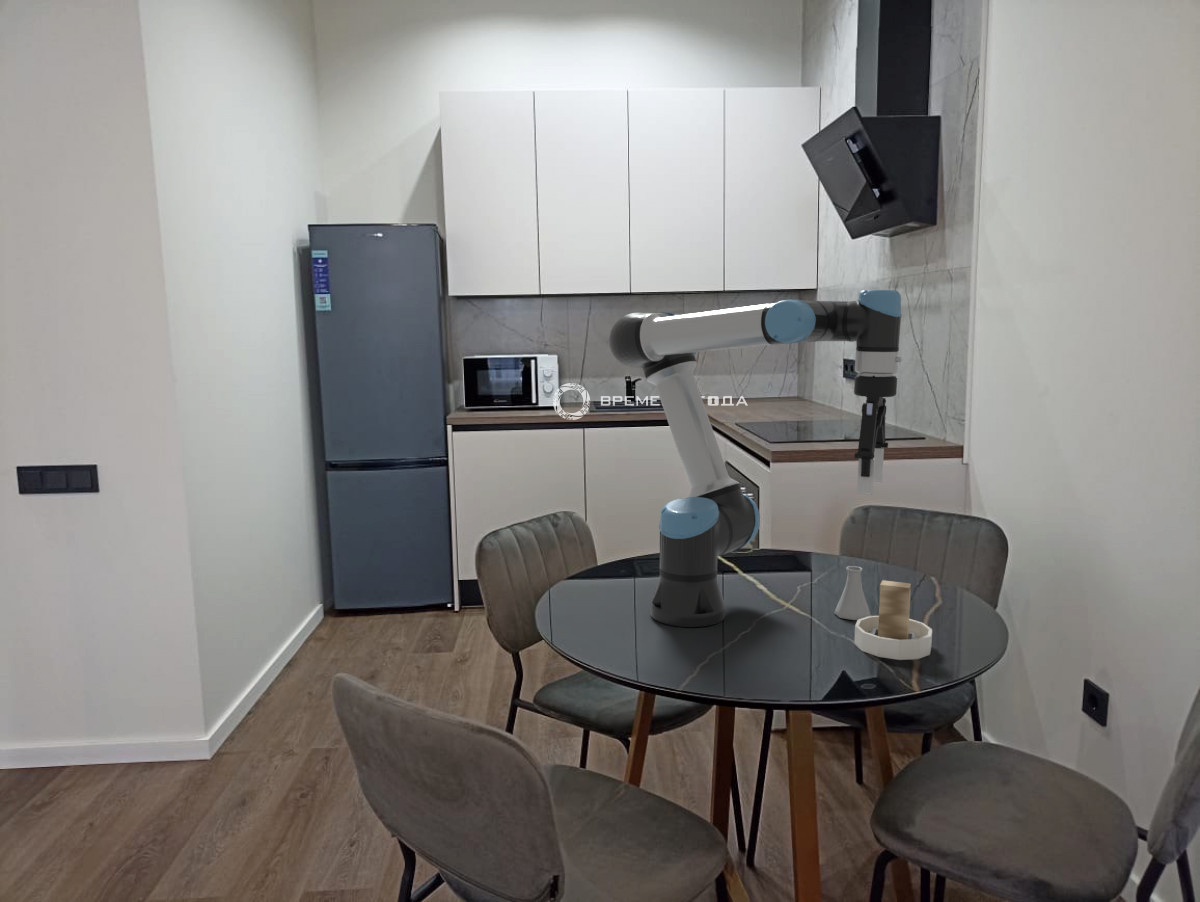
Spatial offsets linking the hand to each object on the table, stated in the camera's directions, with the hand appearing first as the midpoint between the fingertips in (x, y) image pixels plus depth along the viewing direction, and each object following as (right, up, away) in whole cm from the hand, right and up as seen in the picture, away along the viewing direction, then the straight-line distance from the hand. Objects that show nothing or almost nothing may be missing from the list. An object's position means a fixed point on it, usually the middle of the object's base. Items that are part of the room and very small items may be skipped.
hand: (869, 487), depth 164 cm
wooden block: (+3, -28, -4) cm, 29 cm away
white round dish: (+3, -29, -3) cm, 29 cm away
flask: (+1, -27, +13) cm, 30 cm away
